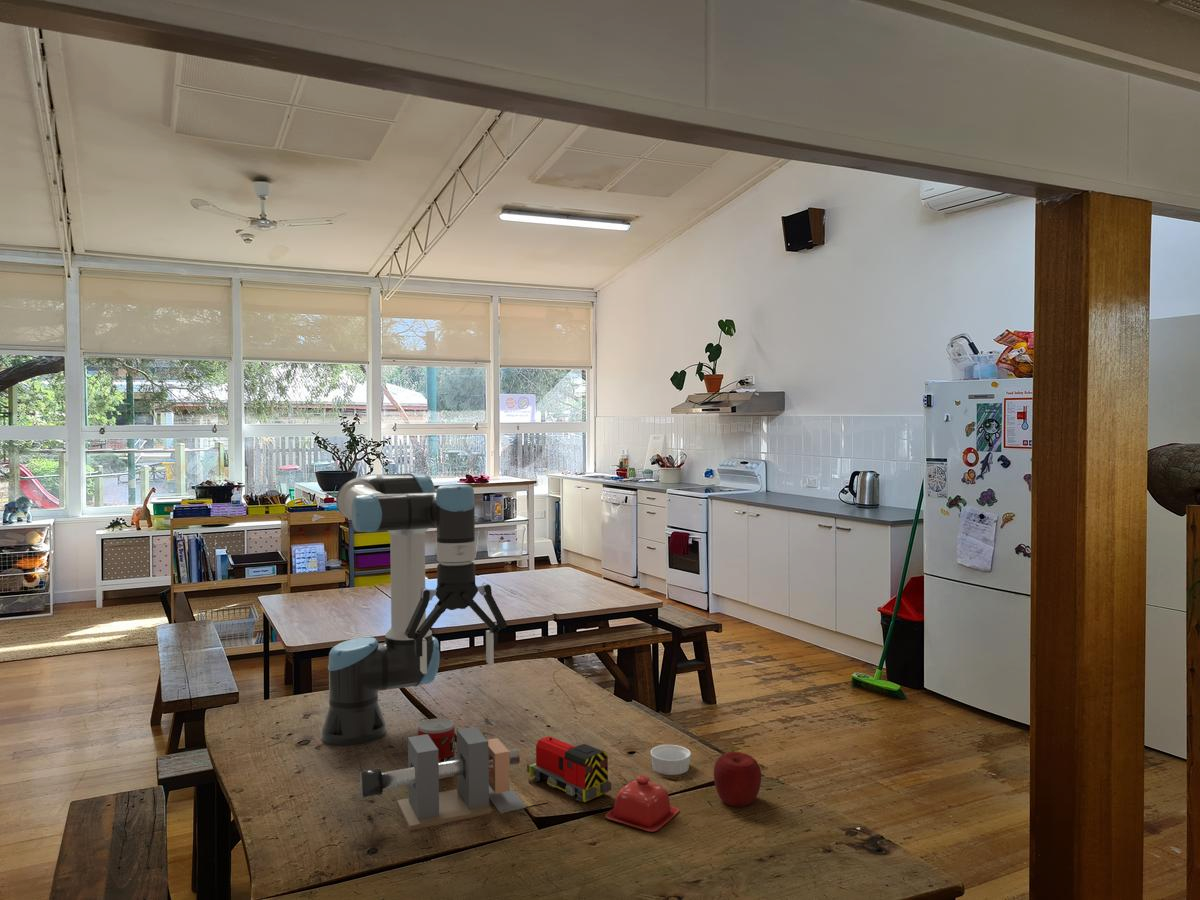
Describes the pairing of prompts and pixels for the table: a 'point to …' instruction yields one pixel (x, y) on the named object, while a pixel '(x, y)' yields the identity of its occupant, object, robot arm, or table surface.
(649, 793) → the butter dish
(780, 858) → the table surface
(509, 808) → the mat
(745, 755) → the apple
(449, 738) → the canned food
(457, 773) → the shaft
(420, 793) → the bearing frame
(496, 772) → the block
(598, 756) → the toy train
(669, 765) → the ramekin
